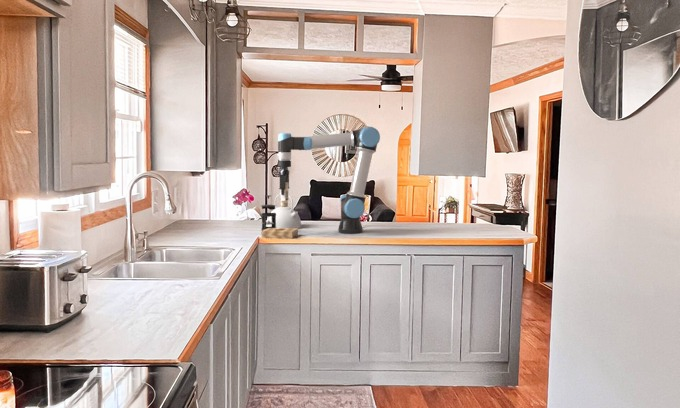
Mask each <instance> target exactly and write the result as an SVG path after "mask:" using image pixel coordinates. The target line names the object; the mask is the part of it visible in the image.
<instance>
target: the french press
mask: <svg viewBox="0 0 680 408" xmlns="http://www.w3.org/2000/svg"><path fill="white" fill-rule="evenodd" d="M265 197H267V204H262V205H261V209H262V210H263V209H264V210H265V209H267V210H268V212H264V213H263V212H262V213H261V214H260V215H261V235H262V231H263V230H265V229H267V228H276V213H271V212H270V210H271V211H273V210H274V209H276V207H277V204H276V205H275V204H270V203H269V199H270V197H272V195H270V194H269V195H268V194H267V195H265ZM275 206H276V207H275ZM271 216H272V222H270V221H268V222H267V218H268V217H271ZM270 224H272V227H266V225H270Z"/></svg>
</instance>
